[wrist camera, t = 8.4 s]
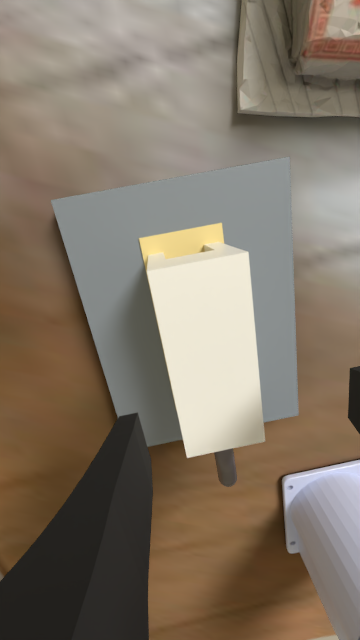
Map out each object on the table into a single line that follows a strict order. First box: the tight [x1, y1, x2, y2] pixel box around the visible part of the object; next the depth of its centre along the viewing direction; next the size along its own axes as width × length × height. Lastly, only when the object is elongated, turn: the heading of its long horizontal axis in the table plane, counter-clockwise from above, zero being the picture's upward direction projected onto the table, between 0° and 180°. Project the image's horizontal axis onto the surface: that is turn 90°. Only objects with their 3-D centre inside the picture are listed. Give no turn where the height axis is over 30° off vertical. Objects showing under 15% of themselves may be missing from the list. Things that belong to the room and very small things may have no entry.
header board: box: [51, 157, 298, 447], centre depth 16 cm, size 16×12×4 cm
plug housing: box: [147, 242, 265, 487], centre depth 15 cm, size 12×4×5 cm, turn 10°
